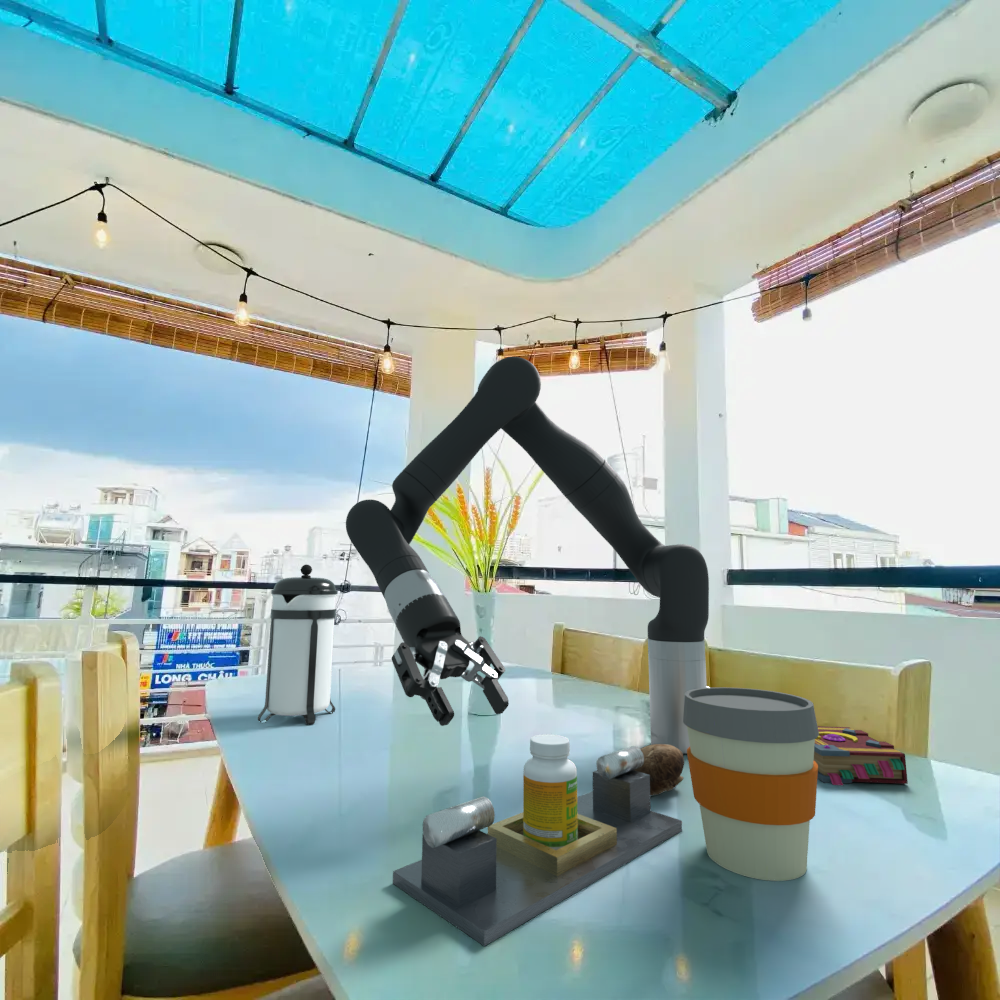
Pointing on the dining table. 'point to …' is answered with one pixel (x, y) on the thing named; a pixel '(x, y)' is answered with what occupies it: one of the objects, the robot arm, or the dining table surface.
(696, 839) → the dining table surface
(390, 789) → the dining table surface
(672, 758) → the brown rough round lump
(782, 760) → the reusable coffee cup
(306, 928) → the dining table surface
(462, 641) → the robot arm
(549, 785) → the supplement bottle
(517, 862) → the shaft bench
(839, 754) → the decorative book
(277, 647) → the coffee press
